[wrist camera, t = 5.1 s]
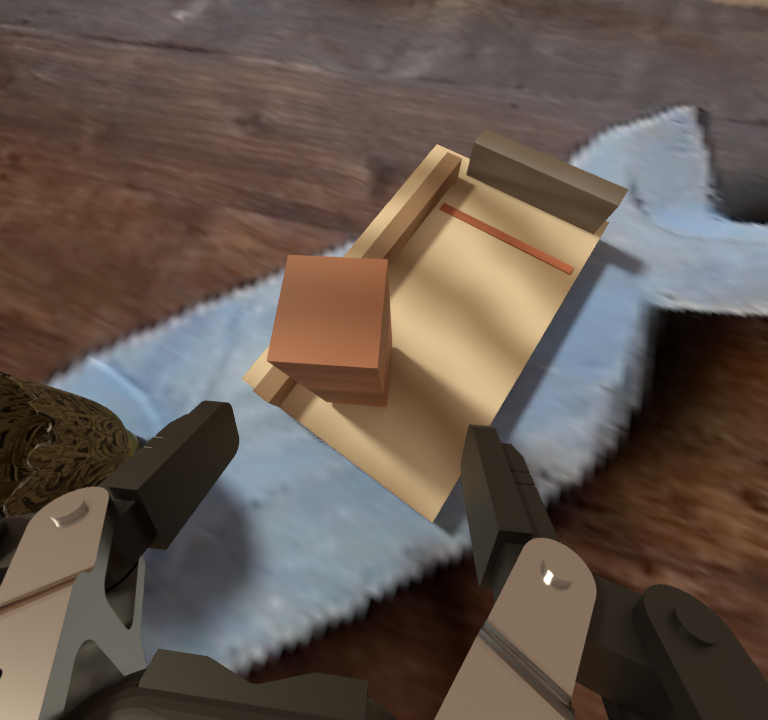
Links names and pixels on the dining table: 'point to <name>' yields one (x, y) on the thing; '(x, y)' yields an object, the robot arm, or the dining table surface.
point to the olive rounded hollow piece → (54, 444)
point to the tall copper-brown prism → (335, 328)
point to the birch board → (457, 306)
